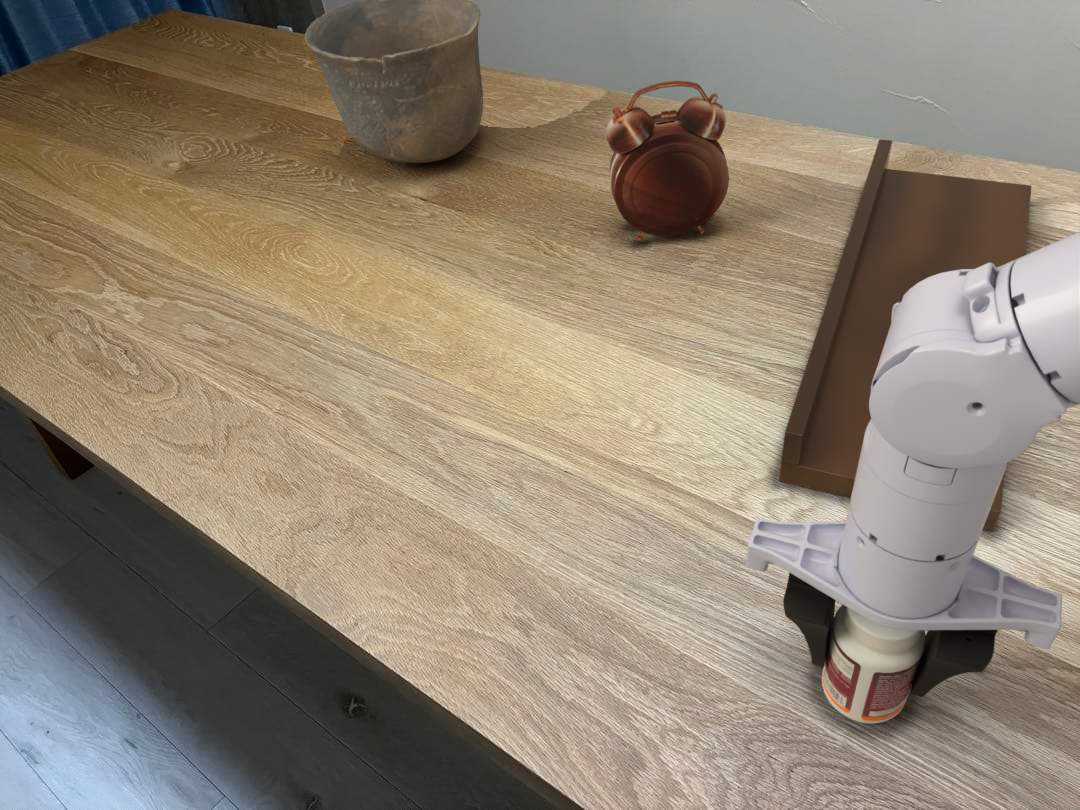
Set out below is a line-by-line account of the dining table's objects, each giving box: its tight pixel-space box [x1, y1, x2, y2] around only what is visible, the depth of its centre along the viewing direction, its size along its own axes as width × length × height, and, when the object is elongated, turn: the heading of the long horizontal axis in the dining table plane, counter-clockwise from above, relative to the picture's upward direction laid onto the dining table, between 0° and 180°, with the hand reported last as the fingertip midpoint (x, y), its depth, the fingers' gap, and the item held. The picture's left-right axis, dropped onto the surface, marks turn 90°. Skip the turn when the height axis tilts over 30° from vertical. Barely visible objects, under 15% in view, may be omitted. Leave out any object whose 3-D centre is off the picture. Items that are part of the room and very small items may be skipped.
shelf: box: [778, 138, 1033, 532], centre depth 74 cm, size 14×41×5 cm, turn 157°
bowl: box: [304, 0, 484, 164], centre depth 99 cm, size 18×18×15 cm
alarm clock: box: [605, 80, 730, 242], centre depth 83 cm, size 11×5×15 cm, turn 94°
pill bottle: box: [821, 604, 927, 725], centre depth 50 cm, size 5×5×8 cm
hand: (869, 665), depth 51 cm, fingers closed on pill bottle, 5 cm apart
